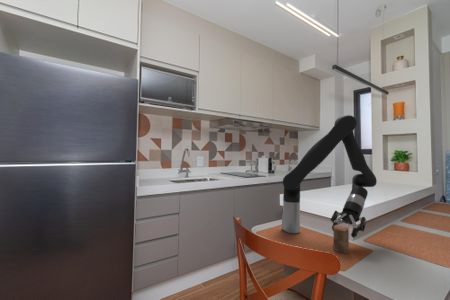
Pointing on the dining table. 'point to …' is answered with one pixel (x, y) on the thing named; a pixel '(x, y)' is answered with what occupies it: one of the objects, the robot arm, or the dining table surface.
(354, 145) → the robot arm
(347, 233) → the brown cardboard box
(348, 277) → the dining table surface
